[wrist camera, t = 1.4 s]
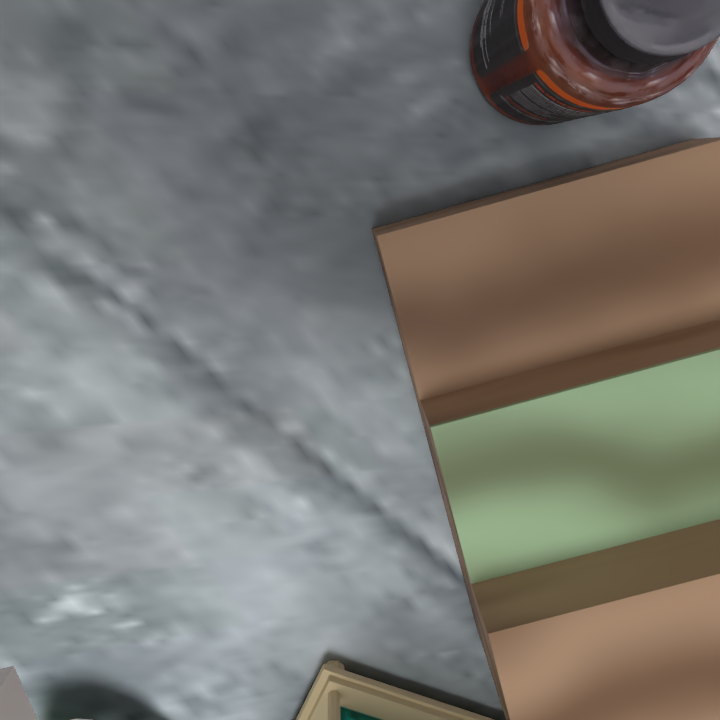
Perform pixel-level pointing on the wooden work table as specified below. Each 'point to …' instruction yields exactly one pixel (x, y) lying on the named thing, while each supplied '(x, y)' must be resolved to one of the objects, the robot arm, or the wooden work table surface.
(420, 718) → the carriage clock
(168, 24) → the wooden work table surface
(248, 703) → the wooden work table surface
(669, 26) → the supplement bottle
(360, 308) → the wooden work table surface
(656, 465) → the step stand
